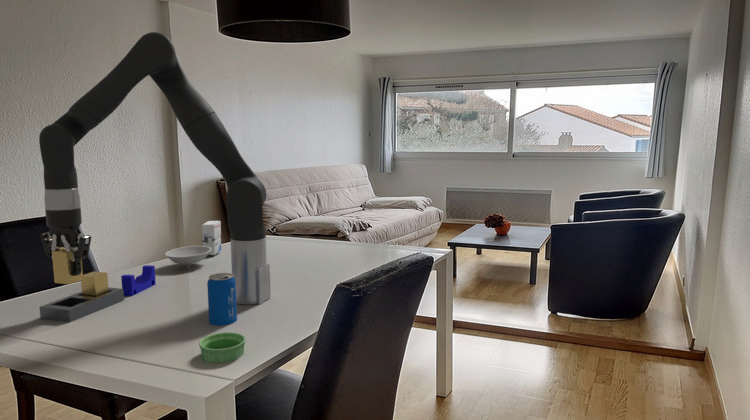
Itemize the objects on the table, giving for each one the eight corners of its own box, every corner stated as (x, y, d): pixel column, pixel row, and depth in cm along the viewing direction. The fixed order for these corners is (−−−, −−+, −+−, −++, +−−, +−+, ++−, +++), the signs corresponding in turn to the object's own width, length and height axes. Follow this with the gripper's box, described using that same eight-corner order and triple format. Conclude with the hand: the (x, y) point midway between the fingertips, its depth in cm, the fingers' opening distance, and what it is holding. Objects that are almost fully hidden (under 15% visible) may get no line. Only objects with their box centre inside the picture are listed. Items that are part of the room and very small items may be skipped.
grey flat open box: (124, 301, 144) (123, 288, 144) (70, 324, 127) (69, 310, 127) (97, 298, 147) (96, 286, 146) (40, 320, 130) (39, 306, 129)
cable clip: (141, 284, 161) (140, 265, 160) (155, 284, 160) (154, 265, 159) (117, 296, 149) (116, 275, 148) (132, 297, 149) (131, 276, 148)
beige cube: (109, 301, 142) (107, 272, 141) (96, 306, 138) (94, 277, 137) (95, 300, 143) (93, 271, 142) (83, 305, 139) (80, 275, 138)
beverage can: (222, 331, 123) (220, 281, 121) (203, 325, 126) (201, 277, 125) (242, 322, 128) (241, 274, 127) (224, 317, 132) (222, 271, 130)
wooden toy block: (83, 279, 134) (80, 248, 132) (68, 284, 129) (66, 252, 128) (69, 278, 135) (66, 247, 134) (54, 282, 131) (51, 251, 129)
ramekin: (190, 366, 105) (189, 345, 104) (219, 349, 113) (218, 329, 112) (228, 373, 102) (227, 352, 101) (254, 355, 110) (254, 335, 109)
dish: (193, 273, 173) (192, 258, 172) (155, 270, 177) (154, 255, 176) (221, 260, 190) (220, 246, 189) (185, 258, 193) (185, 244, 193)
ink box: (209, 250, 206) (208, 220, 205) (222, 250, 206) (221, 220, 205) (202, 255, 198) (200, 224, 196) (215, 255, 198) (214, 224, 196)
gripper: (98, 206, 131) (103, 272, 134) (52, 203, 135) (58, 268, 137) (74, 210, 124) (79, 280, 126) (26, 207, 128) (32, 275, 130)
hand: (68, 274), depth 132 cm, fingers closed on wooden toy block, 4 cm apart
